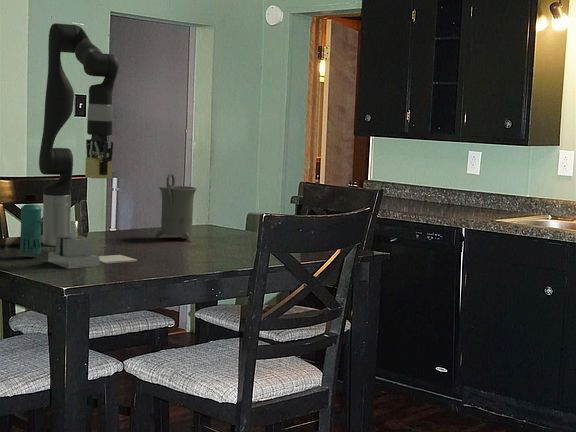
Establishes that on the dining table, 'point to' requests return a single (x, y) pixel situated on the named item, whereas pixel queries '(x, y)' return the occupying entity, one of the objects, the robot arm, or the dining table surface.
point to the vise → (73, 251)
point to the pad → (115, 259)
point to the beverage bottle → (30, 226)
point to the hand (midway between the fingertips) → (98, 174)
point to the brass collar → (96, 168)
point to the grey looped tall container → (176, 209)
